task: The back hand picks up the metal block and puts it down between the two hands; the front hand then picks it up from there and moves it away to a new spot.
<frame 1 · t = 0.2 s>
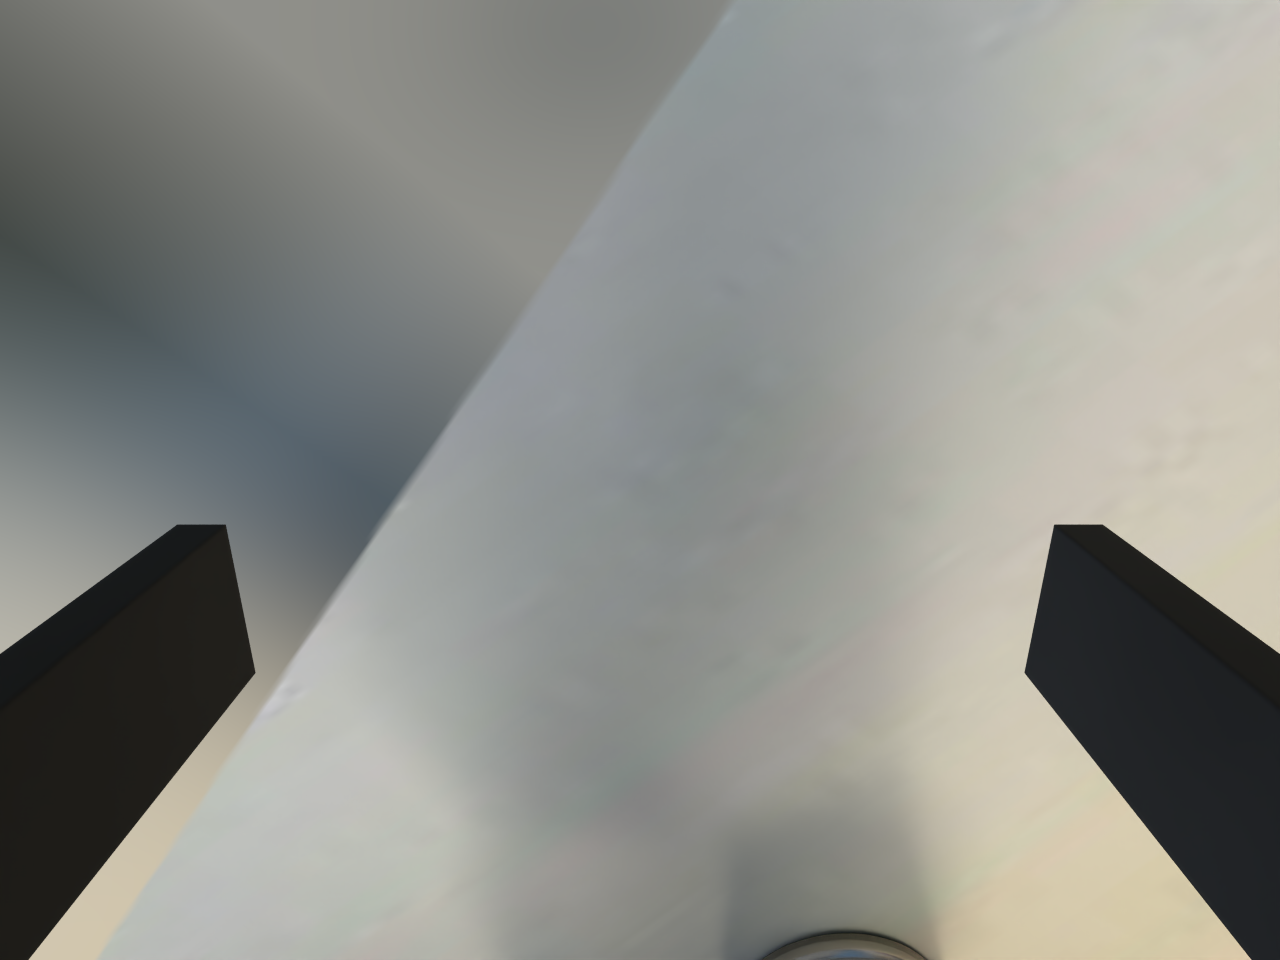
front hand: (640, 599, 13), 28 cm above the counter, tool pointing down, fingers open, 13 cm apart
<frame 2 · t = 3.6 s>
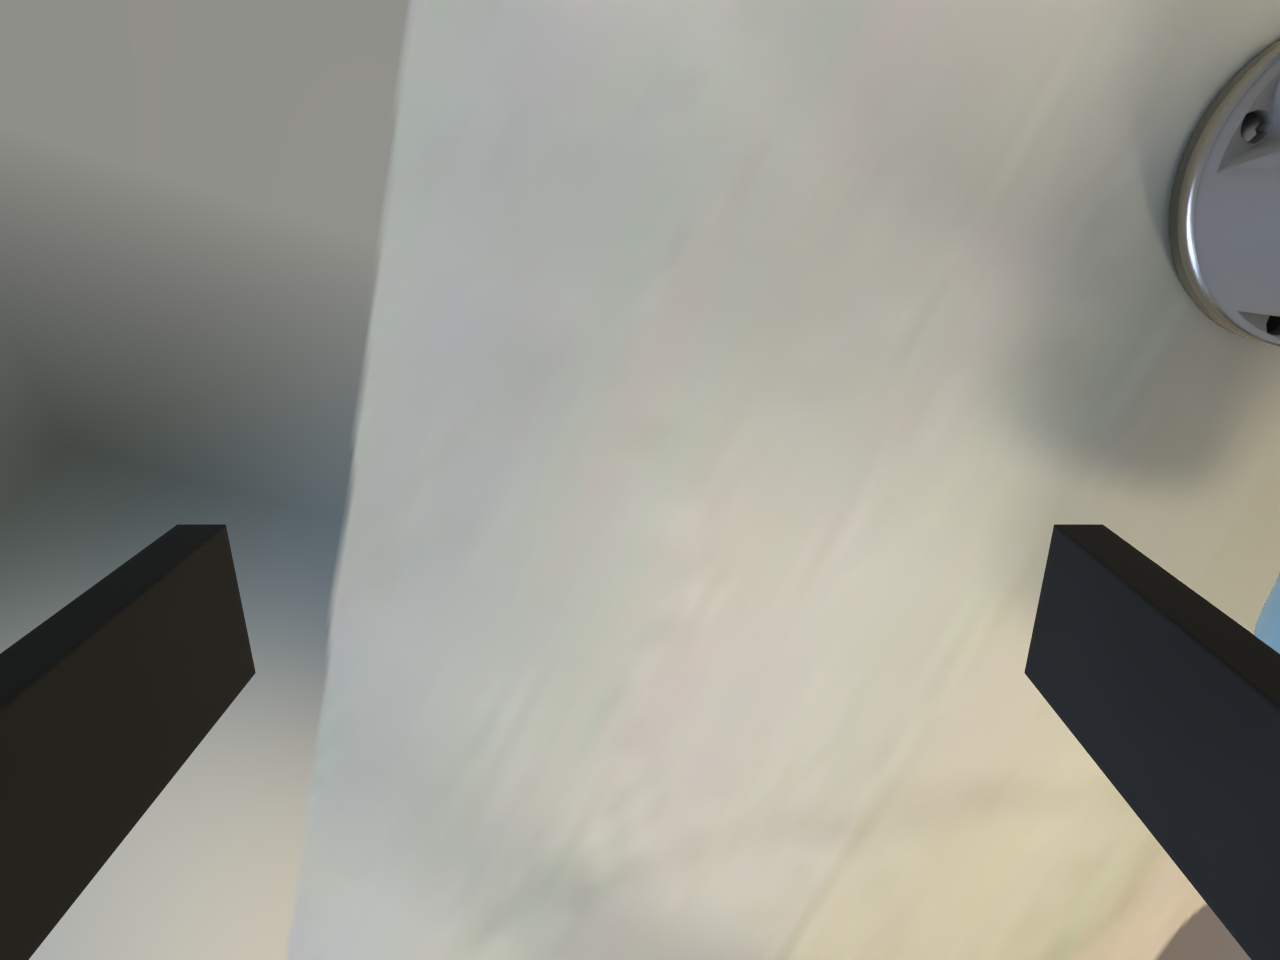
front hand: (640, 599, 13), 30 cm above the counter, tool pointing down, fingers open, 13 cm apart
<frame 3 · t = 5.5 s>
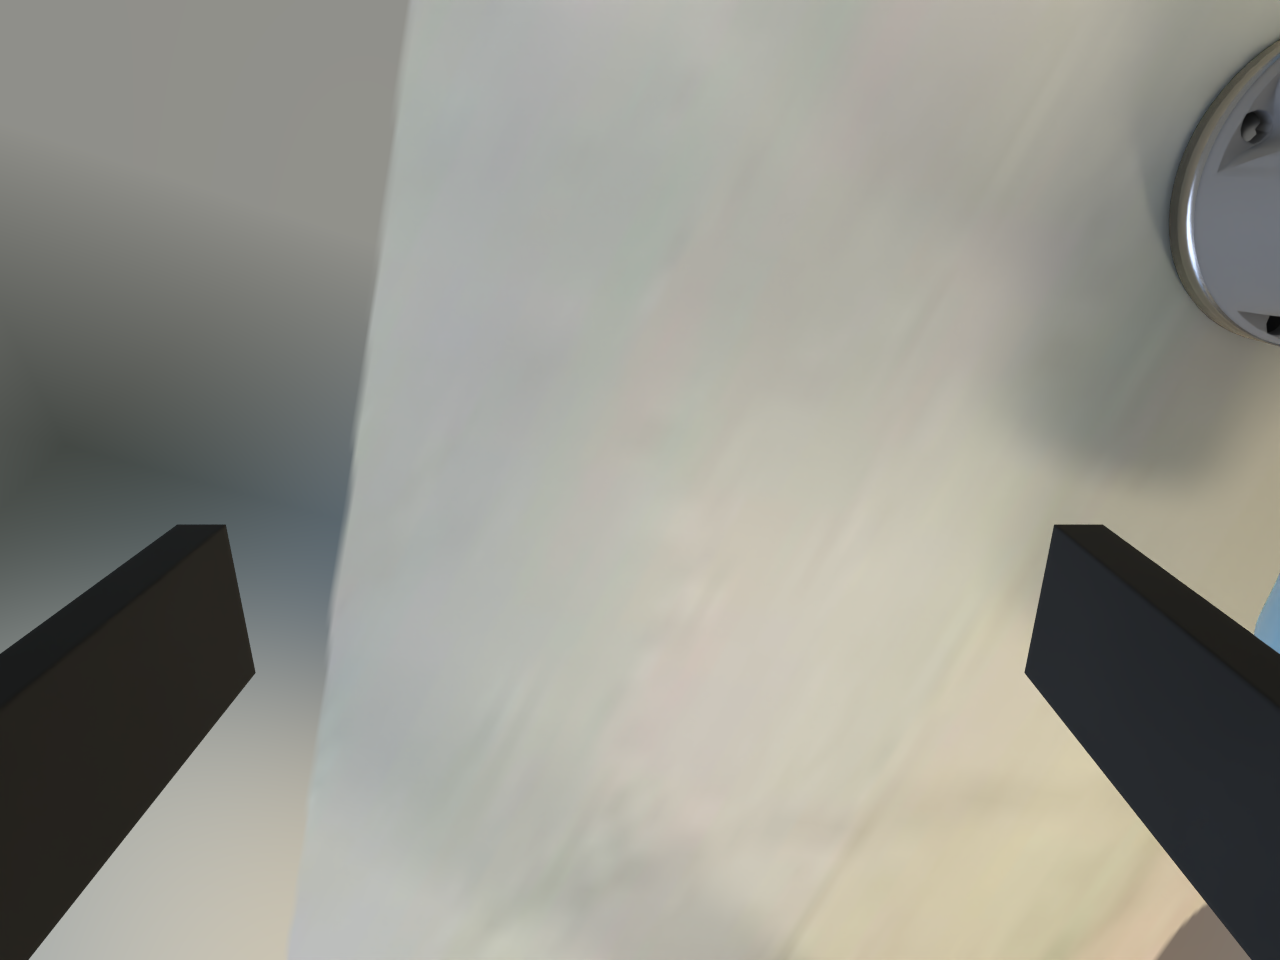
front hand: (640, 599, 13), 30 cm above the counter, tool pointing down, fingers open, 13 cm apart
when the back hand's fingers open (6 cm above the counter, at t = 7.7 s): block drops 2 cm, on the counter.
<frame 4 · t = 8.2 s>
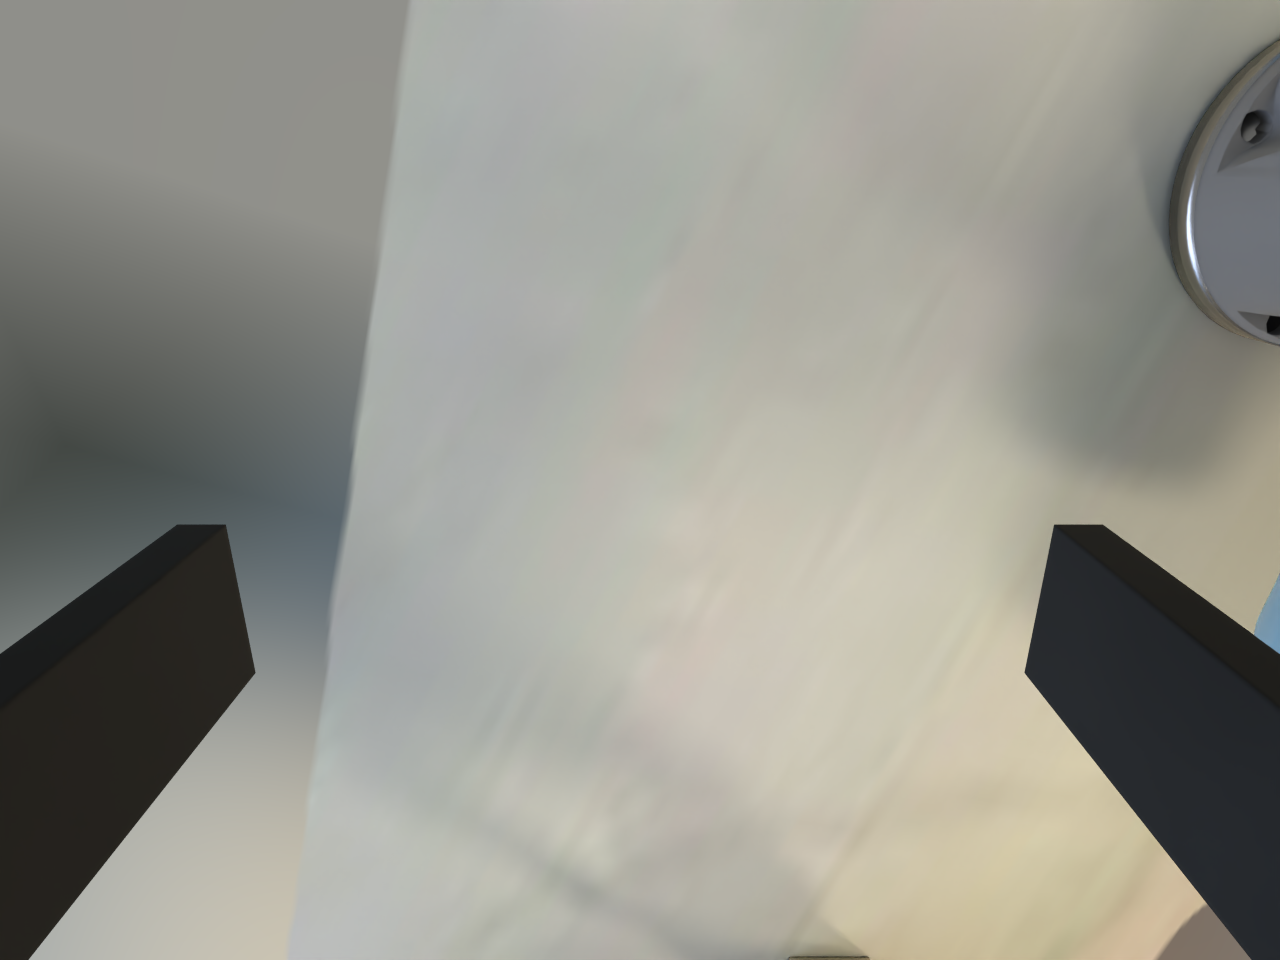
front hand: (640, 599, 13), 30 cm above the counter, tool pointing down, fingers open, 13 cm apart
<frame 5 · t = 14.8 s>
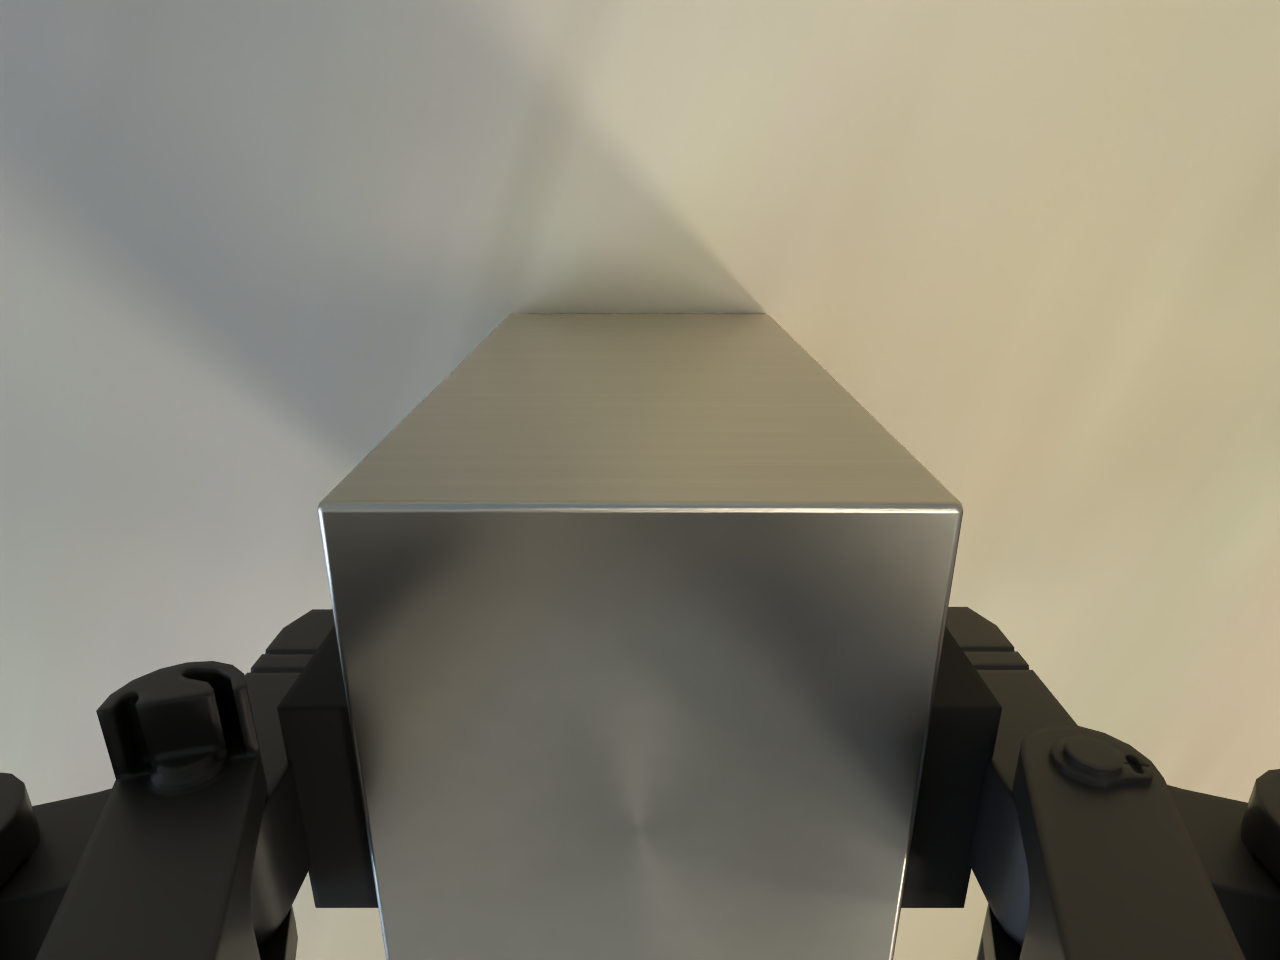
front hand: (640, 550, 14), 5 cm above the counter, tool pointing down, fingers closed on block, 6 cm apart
block: (639, 468, 19), on the counter, touching front hand
when the front hand's fingers open (6 cm above the counter, at t = 23.8 s): block drops 2 cm, on the counter.
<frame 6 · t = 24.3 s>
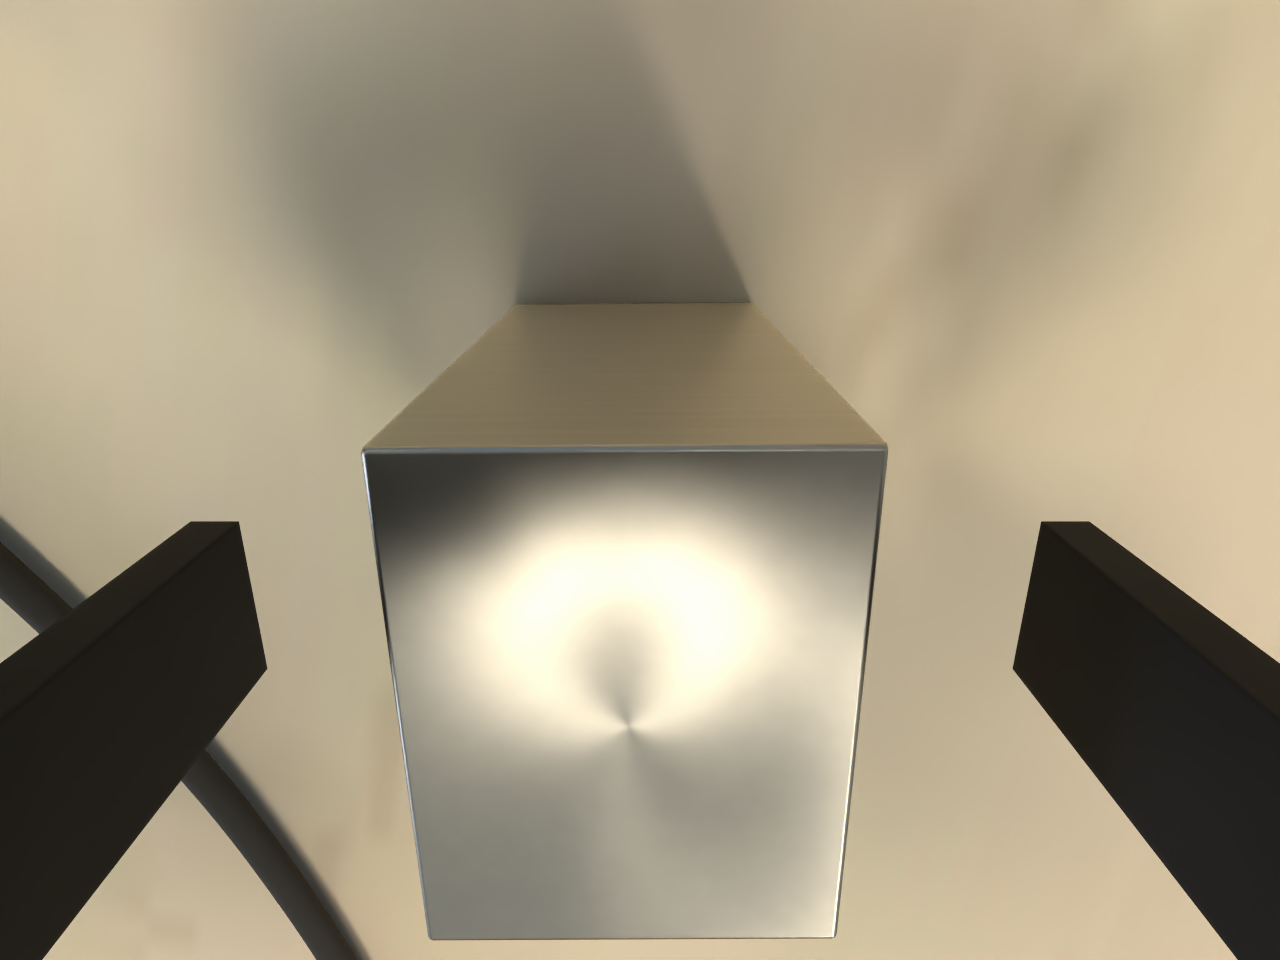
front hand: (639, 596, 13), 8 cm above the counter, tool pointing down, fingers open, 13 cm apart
block: (635, 447, 20), on the counter
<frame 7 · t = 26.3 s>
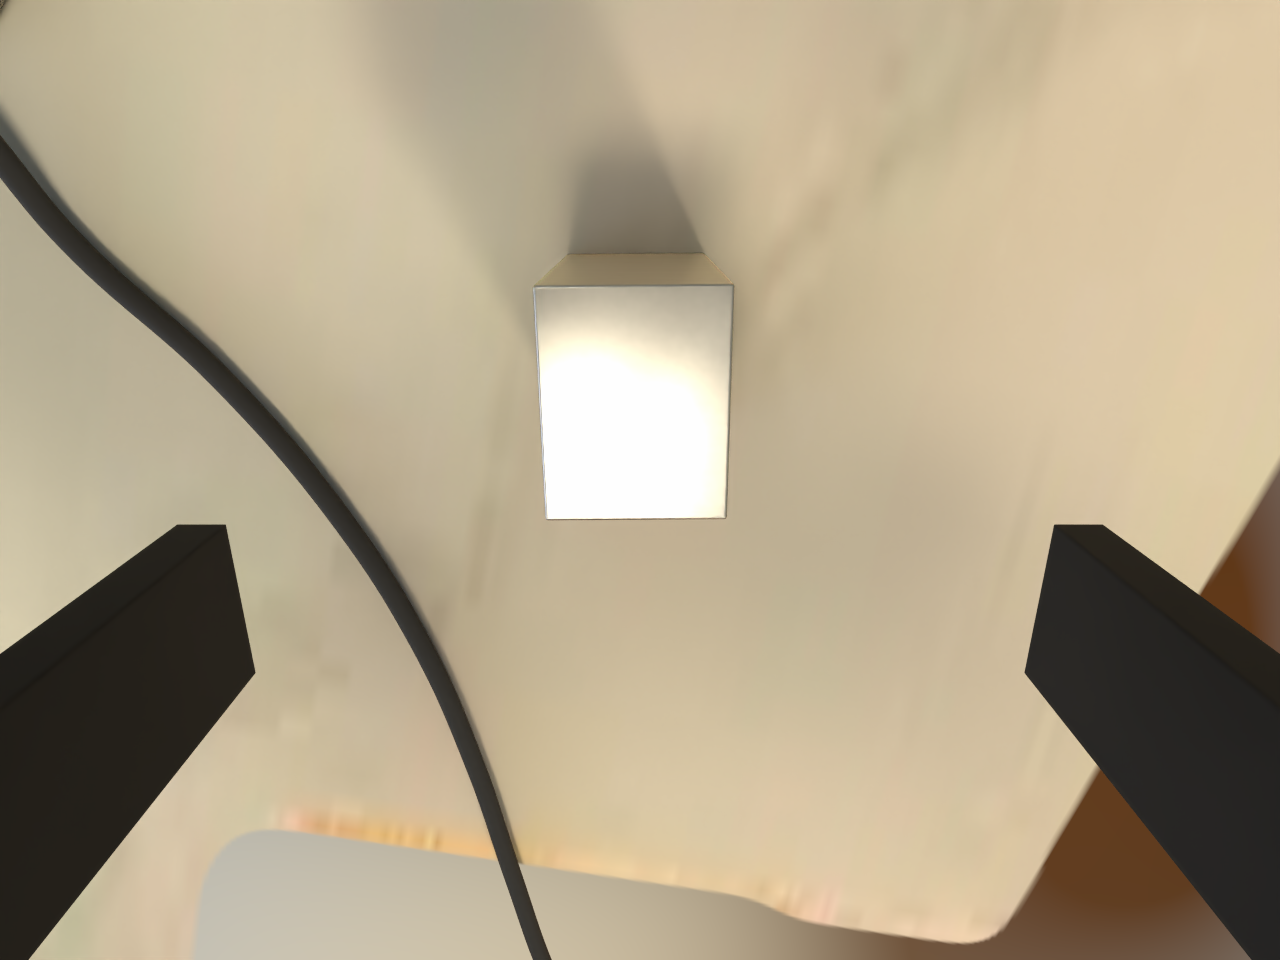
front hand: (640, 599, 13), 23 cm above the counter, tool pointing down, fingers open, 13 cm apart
block: (636, 340, 34), on the counter
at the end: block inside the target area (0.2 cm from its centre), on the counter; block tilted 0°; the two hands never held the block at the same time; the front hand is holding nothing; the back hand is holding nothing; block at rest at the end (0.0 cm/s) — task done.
